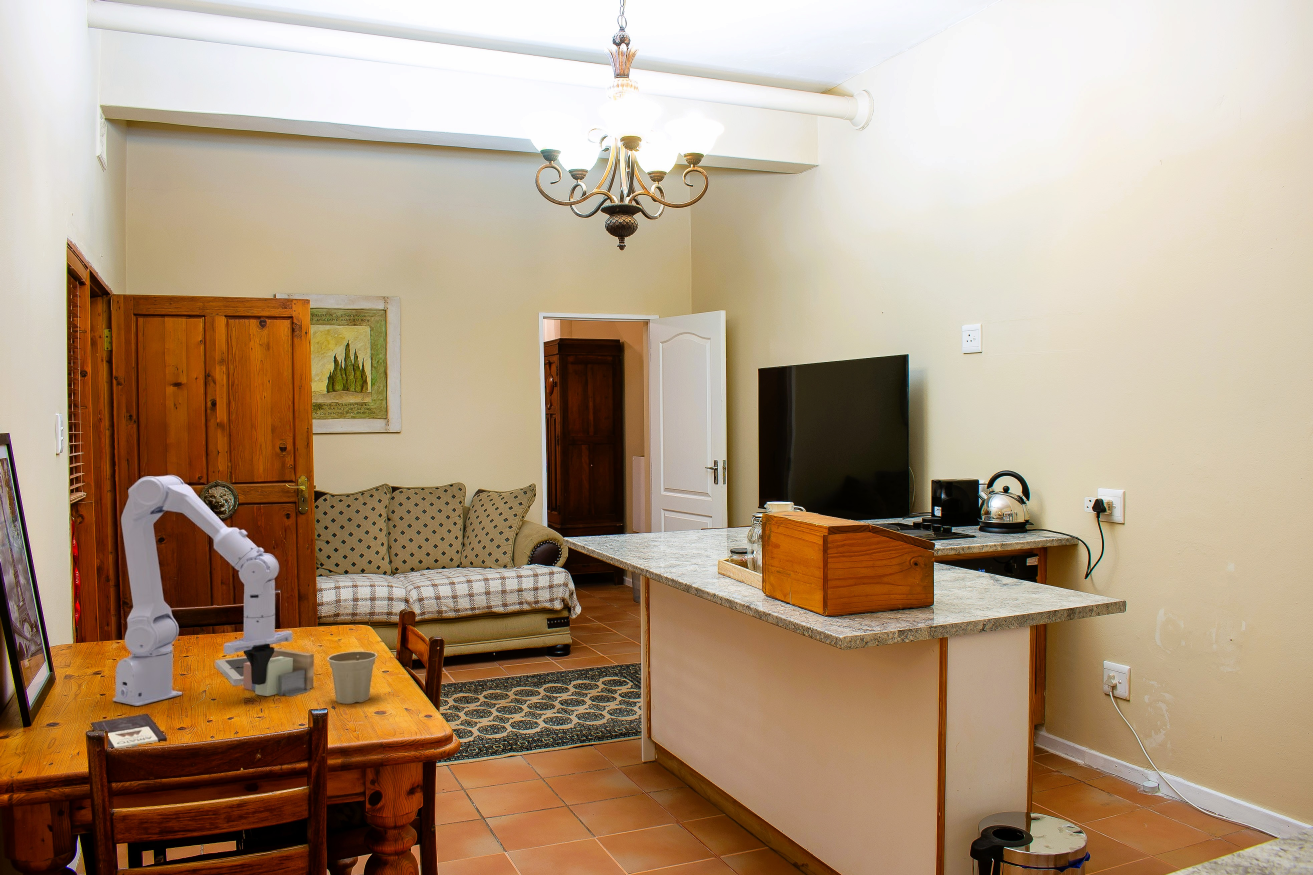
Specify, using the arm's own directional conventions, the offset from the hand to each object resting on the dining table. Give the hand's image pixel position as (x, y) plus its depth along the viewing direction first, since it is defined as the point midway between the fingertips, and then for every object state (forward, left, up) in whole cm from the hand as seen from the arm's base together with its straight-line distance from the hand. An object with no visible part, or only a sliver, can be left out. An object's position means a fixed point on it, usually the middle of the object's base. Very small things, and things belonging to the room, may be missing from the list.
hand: (259, 683), depth 182 cm
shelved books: (+5, +5, -3) cm, 8 cm away
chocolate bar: (-27, 0, -3) cm, 27 cm away
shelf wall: (+9, +2, -3) cm, 10 cm away
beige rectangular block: (+3, 0, -3) cm, 4 cm away
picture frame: (+15, +17, -4) cm, 23 cm away
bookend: (+5, -3, -3) cm, 7 cm away
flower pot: (+7, -18, -3) cm, 20 cm away
